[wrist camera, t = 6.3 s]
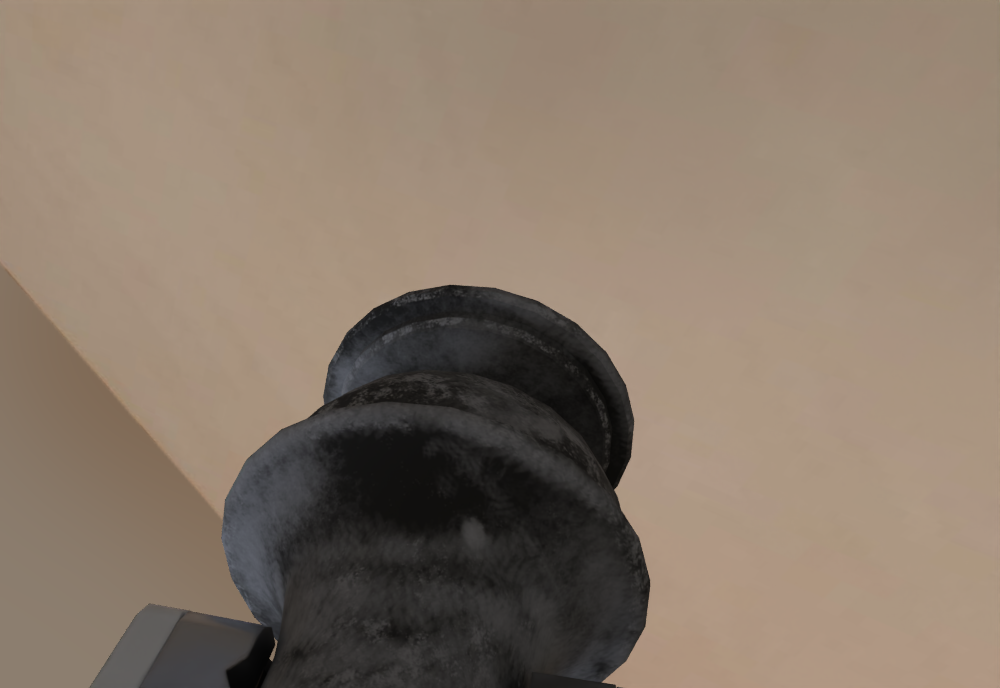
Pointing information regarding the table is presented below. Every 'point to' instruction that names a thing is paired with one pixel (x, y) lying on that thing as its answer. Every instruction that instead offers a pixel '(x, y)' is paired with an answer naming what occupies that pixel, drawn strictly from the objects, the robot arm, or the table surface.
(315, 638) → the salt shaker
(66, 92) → the table surface
